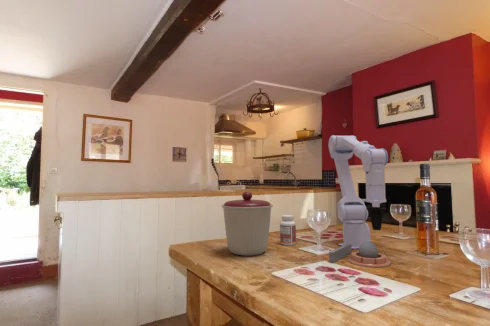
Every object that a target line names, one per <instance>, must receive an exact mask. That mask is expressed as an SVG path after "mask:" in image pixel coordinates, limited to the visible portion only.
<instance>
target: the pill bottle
mask: <svg viewBox="0 0 490 326" xmlns="http://www.w3.org/2000/svg"><path fill="white" fill-rule="evenodd" d="M294 219H295V217H294V215H293V214H292V215H291V214H282V215H281V221H280V222H279V232H280V233H279V239H280V240H279V241H280V245H283V246H294V245H296V244H297V228H296V227H297V226H296V222H295V221H294Z"/></svg>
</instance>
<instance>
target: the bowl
mask: <svg viewBox="0 0 490 326" xmlns="http://www.w3.org/2000/svg"><path fill="white" fill-rule="evenodd" d="M350 254H351V255H350V256H348V257H347V262H349V264H352V265H355V266H359V267H366V268H386V267H389V266H390V265H391V261H390V260H389V259H387V256H386V254H383V253H380V252H378V255H377V257H376V258H364V257H361V256H360V254H359V250H358V251H352V253H350Z"/></svg>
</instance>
